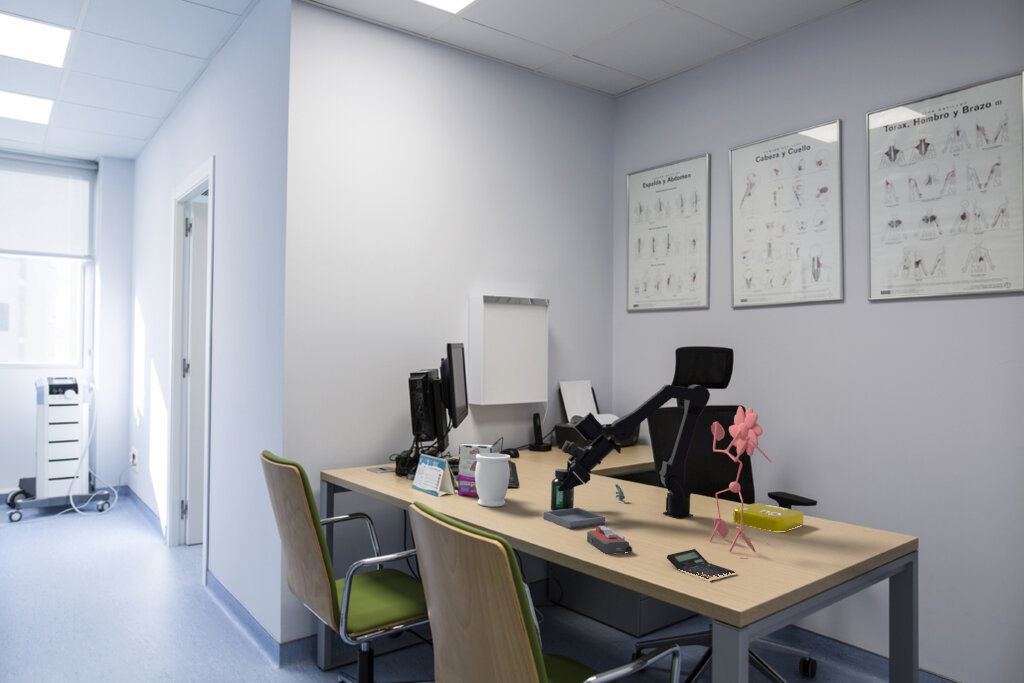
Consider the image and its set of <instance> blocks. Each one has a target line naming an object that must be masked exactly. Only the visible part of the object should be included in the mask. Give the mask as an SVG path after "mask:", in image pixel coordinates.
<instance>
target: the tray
mask: <svg viewBox="0 0 1024 683" xmlns="http://www.w3.org/2000/svg"><path fill="white" fill-rule="evenodd" d="M542 518H543V520H545V521H548V522H550V523H553V524H556V525H558V526H561V527H563V528H566V529H568V530H575V529H581V528H582V527H583V528H588V527H589V526H590V527H596V526H601V525H600V524H603V525H606V516H604V515H600V514H597V513H594V512H592V511H589V510H587V509H586V510H585V509H582V508H580V507H573V508H570V509H562V510H554V511H552V510H548V511H546V510H545V511H543V517H542ZM595 525H596V526H595ZM590 527H589V528H590Z"/></svg>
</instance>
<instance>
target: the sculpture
mask: <svg viewBox="0 0 1024 683" xmlns="http://www.w3.org/2000/svg"><path fill="white" fill-rule="evenodd" d="M615 488H616V490H617V491H615V494H616V496H615V499H616V500H618V501H621V502H625V503H626V500H624V499H626V496H625V494H624V490H623V489H622V487H621V486H620V485H619V484H618V483H616V484H615Z"/></svg>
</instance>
